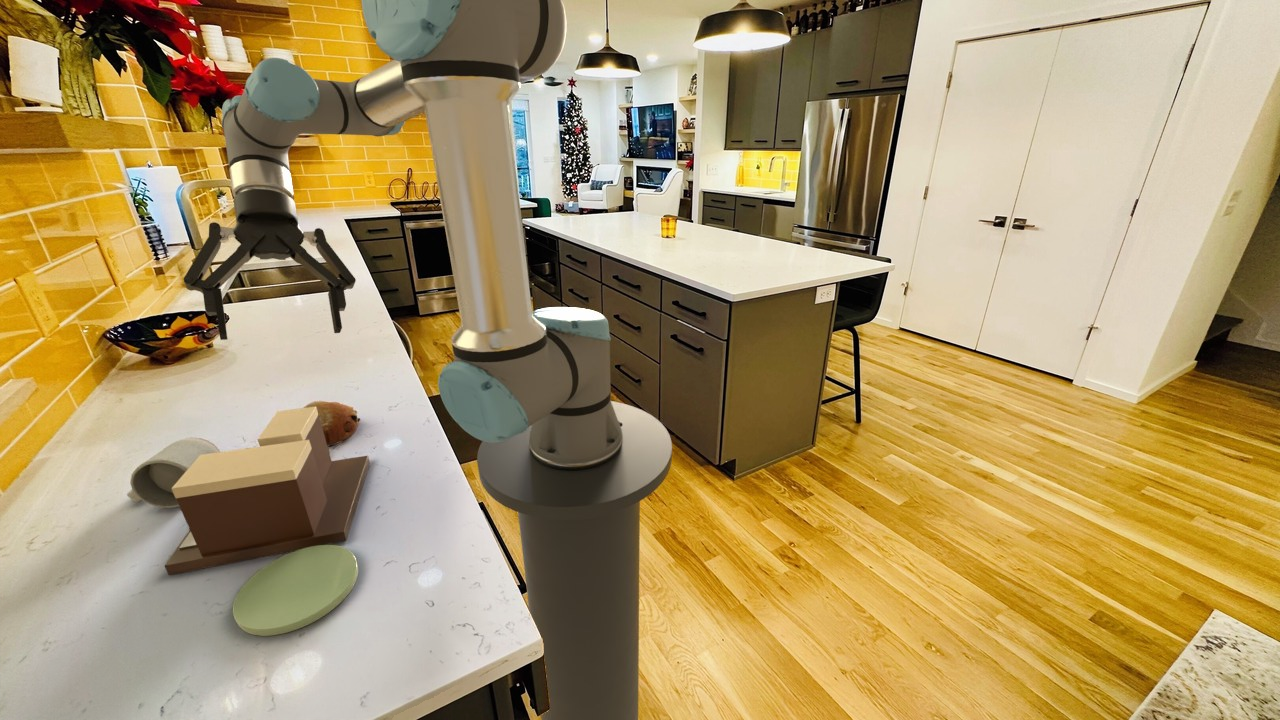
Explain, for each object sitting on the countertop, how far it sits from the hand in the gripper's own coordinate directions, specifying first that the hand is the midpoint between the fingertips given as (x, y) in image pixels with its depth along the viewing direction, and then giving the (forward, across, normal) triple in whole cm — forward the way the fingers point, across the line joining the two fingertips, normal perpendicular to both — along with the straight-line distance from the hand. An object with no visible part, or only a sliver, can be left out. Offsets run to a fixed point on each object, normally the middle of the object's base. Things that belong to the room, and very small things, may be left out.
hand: (284, 333), depth 72 cm
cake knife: (+23, +10, -6) cm, 26 cm away
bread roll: (+13, -6, -19) cm, 24 cm away
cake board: (+25, +3, -4) cm, 25 cm away
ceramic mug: (+19, +14, -16) cm, 29 cm away
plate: (+34, +3, +11) cm, 36 cm away
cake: (+26, +5, +1) cm, 27 cm away
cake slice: (+21, 0, -6) cm, 22 cm away
